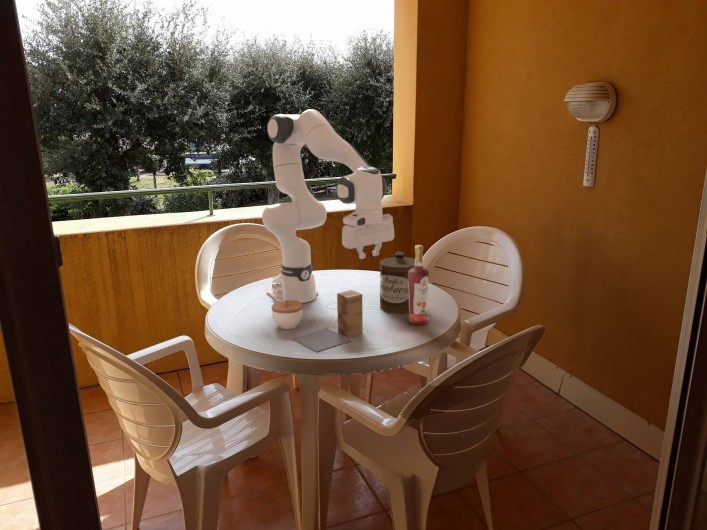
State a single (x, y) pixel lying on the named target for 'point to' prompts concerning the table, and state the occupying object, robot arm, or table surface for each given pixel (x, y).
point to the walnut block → (349, 313)
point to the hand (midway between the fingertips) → (369, 257)
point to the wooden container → (395, 283)
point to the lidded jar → (287, 313)
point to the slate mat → (321, 340)
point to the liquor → (418, 289)
